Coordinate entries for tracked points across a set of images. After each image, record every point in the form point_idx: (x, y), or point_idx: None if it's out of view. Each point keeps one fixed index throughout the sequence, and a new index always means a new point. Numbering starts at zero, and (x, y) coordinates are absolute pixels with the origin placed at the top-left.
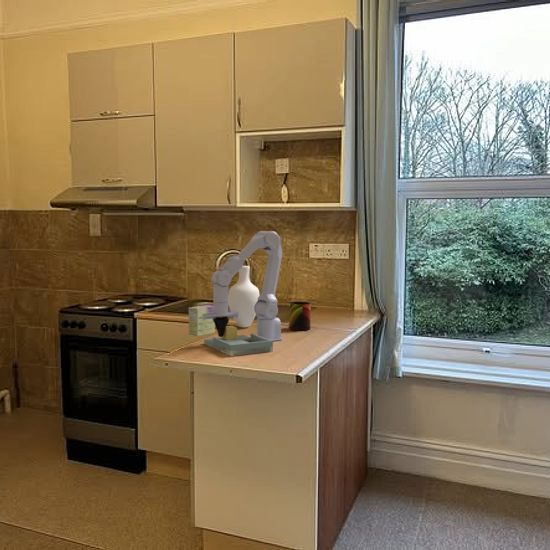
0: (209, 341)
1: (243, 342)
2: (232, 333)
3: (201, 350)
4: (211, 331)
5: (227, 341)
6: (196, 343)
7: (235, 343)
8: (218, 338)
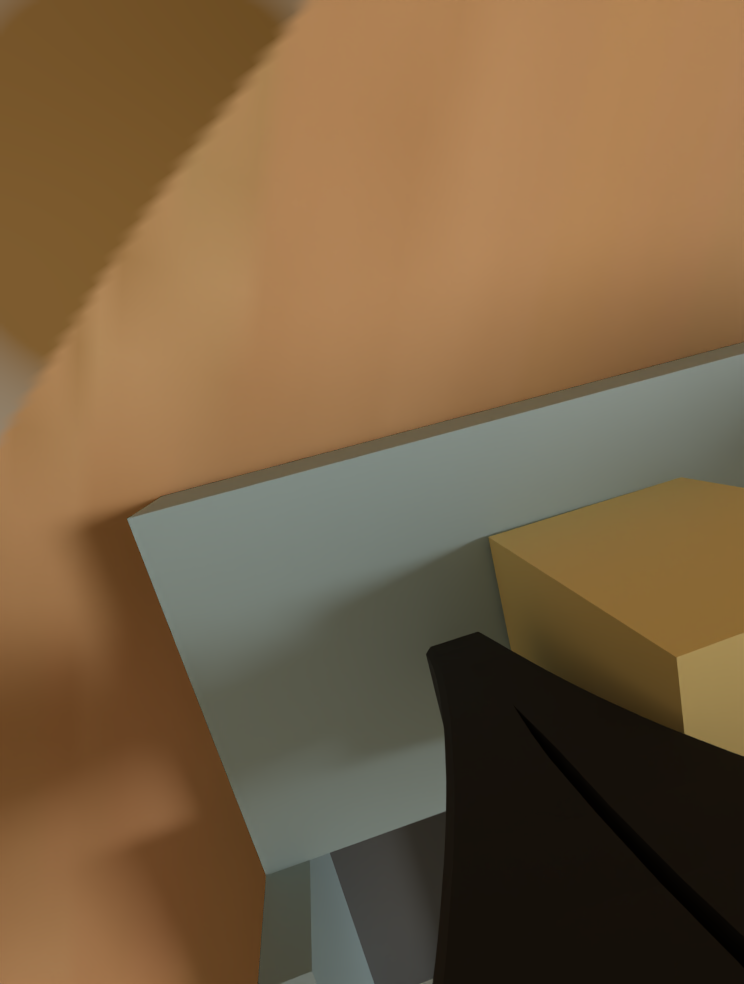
0: (221, 755)
1: None
2: None
3: (93, 925)
4: None
5: None
6: (11, 436)
7: None
8: (423, 552)
